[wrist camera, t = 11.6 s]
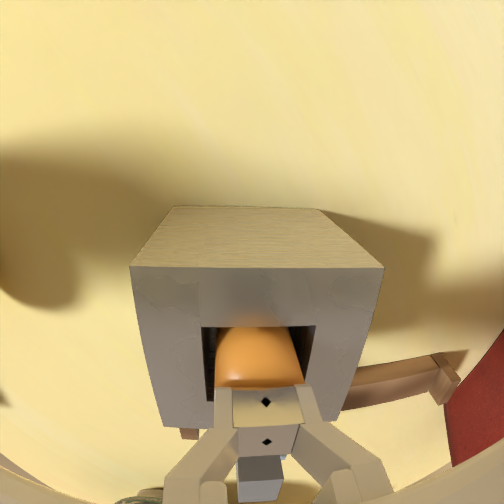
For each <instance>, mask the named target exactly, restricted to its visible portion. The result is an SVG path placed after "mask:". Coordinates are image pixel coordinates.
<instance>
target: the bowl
mask: <svg viewBox="0 0 504 504" xmlns="http://www.w3.org/2000/svg"><path fill="white" fill-rule="evenodd" d="M163 491H164V490H162V489H145V490H141V491H139V492H138V494H137V496H136V497H129V498H125V499H122V500H120V501H118V502H116V503H115V504H162V501H163Z"/></svg>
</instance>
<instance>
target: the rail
mask: <svg viewBox="0 0 504 504" xmlns="http://www.w3.org/2000/svg"><path fill="white" fill-rule="evenodd" d="M460 381H461V378H460V377H459V376H458V375H457V373H456V372H455V371H454V369H453V368H452V367H451V366H450V364H449V363H448V362H447V361H446V360H445V358H444V357H443V356H442V355H441V353H436V354H432V355H431V356H430V355H427V356H423V357H418V358H413V359H408V360H402V361H397V362H391V363H385V364H379V365H373V366H366V367H359V368H357V369H356V371H355V374H354V377H353V380H352V383H351V385H350V388H349V391H348V393H347V396H346V399H345V401H344V404H343V406H342V409H341V411H344V410H350V409H356V408H361V407H366V406H371V405H376V404H381V403H386V402H390V401H394V400H398V399H403V398H406V397H410V396H414V395H418V394H421V393H425V392H427V391H429V392H430V394H431V396H432V397H433V399H434V400H435V402H436V403H437V405H438V406H439V405H441V404H444V403H447V402H448V400H449V399H450V397H451V396H452V394H453V392H454V391H455V389H456V387H457V386H458V384H459V382H460ZM179 429H180V433H181V437H182V439H191V440H199V429H193V428H179Z"/></svg>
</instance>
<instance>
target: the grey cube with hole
mask: <svg viewBox="0 0 504 504" xmlns="http://www.w3.org/2000/svg"><path fill="white" fill-rule="evenodd" d="M129 268H130V275H131V283H132V289H133V296H134V302H135V308H136V314H137V319H138V325H139V330H140V335H141V340H142V345H143V349H144V354H145V358H146V363H147V367H148V371H149V375H150V379H151V383H152V387H153V391H154V395H155V398H156V402H157V406H158V409H159V413H160V416H161V419H162V423H163V426H164V427H176V428H193V429H209V428H214V387H215V352H216V327H284V326H288V329H289V332H290V335H291V339H292V342H293V345H294V349H295V352H296V355H297V358H298V362H299V365H300V368H301V372H302V375H303V378H304V381H305V384H307V383H309V384H310V385H311V386H312V390H313V393H314V396H315V399H316V402H317V405H318V408H319V411H320V414H321V417H322V420H323V421H328V422H331V421H337V418H338V416H339V414H340V411H341V409H342V406H343V404H344V401H345V399H346V396H347V393H348V391H349V388H350V385H351V383H352V380H353V377H354V374H355V371H356V369H357V366H358V363H359V360H360V357H361V354H362V351H363V348H364V344H365V341H366V338H367V335H368V331H369V328H370V325H371V321H372V317H373V314H374V310H375V307H376V303H377V299H378V295H379V291H380V287H381V283H382V279H383V274H384V270H385V267H384V266H383V265H382V264H381V263H379V262H378V261H377V260H376V259H375V258H374V257H373V256H372V255H371V254H369V253H368V252H367V251H366V250H365V249H364V248H363V247H362V246H360V245H359V244H358V243H357V242H356V241H355V240H354V239H352V238H351V237H350V236H349V235H348V234H347V233H346V232H344V231H343V230H342V229H341V228H340V227H339V226H337V225H336V224H335V223H334V222H333V221H331V220H330V219H329V218H328V217H327V216H325V215H324V214H323V213H322V212H321V211H319V210H318V209H302V208H276V207H238V206H174V207H173V208H172V209H171V210H170V212H169V213H168V214H167V216H166V217H165V218H164V219H163V221H162V222H161V223H160V225H159V226H158V227H157V229H156V230H155V231H154V233H153V234H152V235H151V237H150V238H149V239H148V241H147V242H146V243H145V245H144V246H143V248H142V249H141V250H140V252H139V253H138V254H137V256H136V257H135V259H134V260H133V261H132V263H131V264H130V266H129Z"/></svg>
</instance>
